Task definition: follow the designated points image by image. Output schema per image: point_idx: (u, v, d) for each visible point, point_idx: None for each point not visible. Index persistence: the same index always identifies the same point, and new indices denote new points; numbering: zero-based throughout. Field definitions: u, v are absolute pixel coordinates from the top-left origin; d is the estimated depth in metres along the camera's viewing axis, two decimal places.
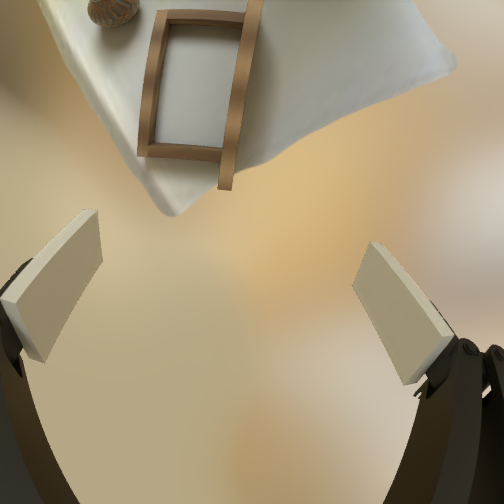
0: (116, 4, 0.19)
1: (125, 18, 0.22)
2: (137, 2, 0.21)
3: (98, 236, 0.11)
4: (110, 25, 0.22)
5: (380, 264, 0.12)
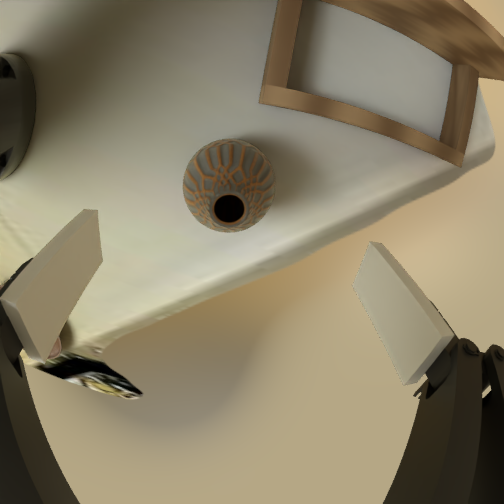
0: (252, 170, 0.17)
1: None
2: (235, 139, 0.19)
3: (98, 236, 0.12)
4: None
5: (380, 264, 0.12)
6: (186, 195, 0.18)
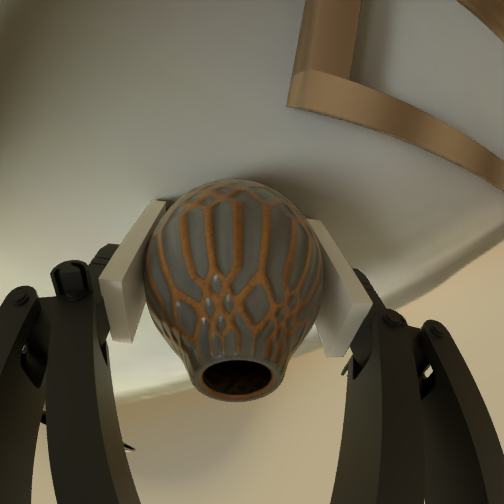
0: (289, 275, 0.07)
1: None
2: (246, 184, 0.09)
3: None
4: None
5: None
6: None
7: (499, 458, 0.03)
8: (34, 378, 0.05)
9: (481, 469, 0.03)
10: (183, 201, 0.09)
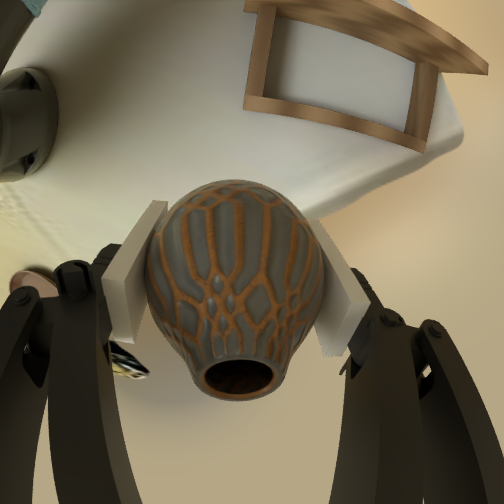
0: (290, 276, 0.08)
1: None
2: (246, 184, 0.10)
3: None
4: None
5: None
6: (150, 310, 0.09)
7: (498, 457, 0.03)
8: (36, 378, 0.06)
9: (480, 469, 0.03)
10: (184, 202, 0.09)
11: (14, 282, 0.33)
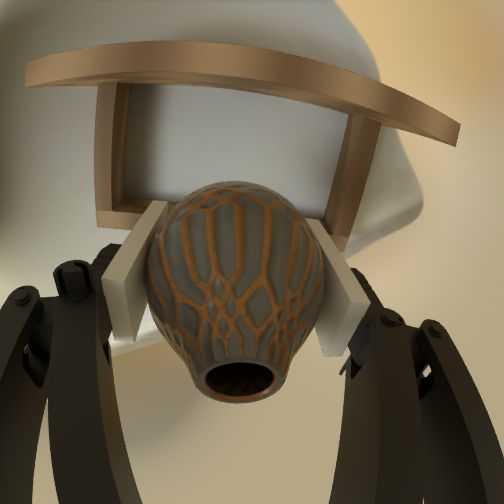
0: (291, 278, 0.08)
1: (308, 225, 0.10)
2: (247, 186, 0.10)
3: None
4: None
5: None
6: (151, 312, 0.09)
7: (499, 457, 0.03)
8: (36, 378, 0.06)
9: (480, 469, 0.03)
10: (184, 204, 0.09)
11: None
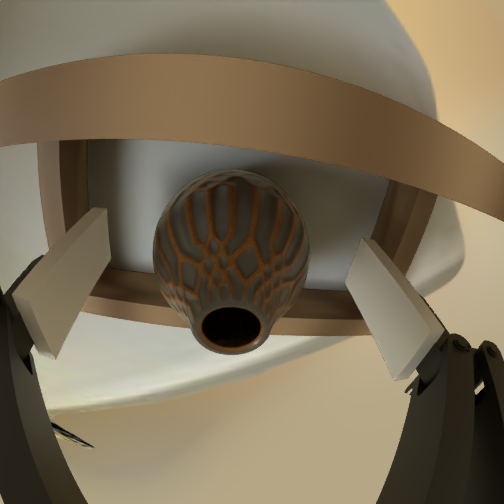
0: (275, 242, 0.09)
1: (295, 206, 0.12)
2: (240, 172, 0.11)
3: (107, 234, 0.12)
4: None
5: (371, 260, 0.12)
6: (156, 278, 0.10)
7: None
8: None
9: None
10: (187, 186, 0.11)
11: None
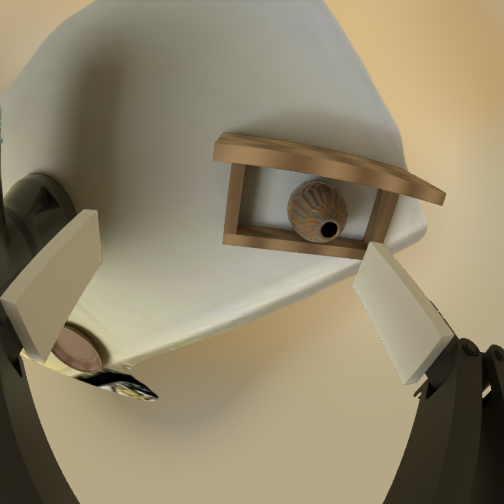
0: (339, 205, 0.28)
1: None
2: (322, 182, 0.30)
3: (98, 236, 0.12)
4: None
5: (380, 264, 0.12)
6: (296, 219, 0.29)
7: None
8: None
9: None
10: (305, 186, 0.29)
11: None
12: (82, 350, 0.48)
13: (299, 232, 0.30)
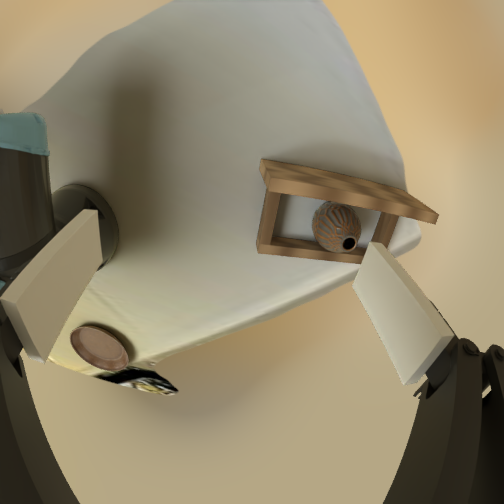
0: (355, 224, 0.35)
1: None
2: (341, 203, 0.37)
3: (98, 236, 0.11)
4: None
5: (380, 264, 0.12)
6: (321, 234, 0.36)
7: None
8: None
9: None
10: (328, 207, 0.36)
11: (74, 331, 0.49)
12: (108, 349, 0.54)
13: (323, 244, 0.37)
